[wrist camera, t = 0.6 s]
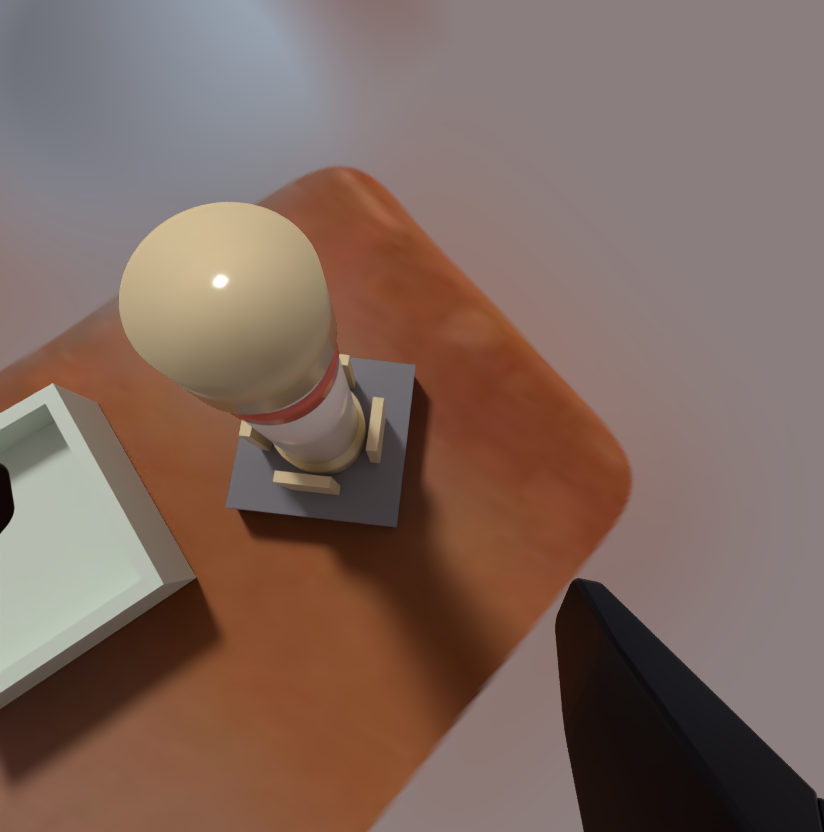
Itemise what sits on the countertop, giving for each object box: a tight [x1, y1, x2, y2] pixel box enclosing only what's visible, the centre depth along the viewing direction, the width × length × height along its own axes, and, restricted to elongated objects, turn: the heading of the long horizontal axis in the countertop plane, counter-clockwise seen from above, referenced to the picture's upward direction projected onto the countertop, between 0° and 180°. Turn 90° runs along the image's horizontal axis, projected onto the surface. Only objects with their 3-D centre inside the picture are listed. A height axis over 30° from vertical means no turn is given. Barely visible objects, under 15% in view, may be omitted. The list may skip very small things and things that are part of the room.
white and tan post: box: [119, 202, 367, 476], centre depth 15 cm, size 4×4×12 cm
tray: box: [0, 383, 196, 709], centre depth 20 cm, size 9×9×3 cm
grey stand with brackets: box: [226, 354, 416, 528], centre depth 20 cm, size 7×7×4 cm
